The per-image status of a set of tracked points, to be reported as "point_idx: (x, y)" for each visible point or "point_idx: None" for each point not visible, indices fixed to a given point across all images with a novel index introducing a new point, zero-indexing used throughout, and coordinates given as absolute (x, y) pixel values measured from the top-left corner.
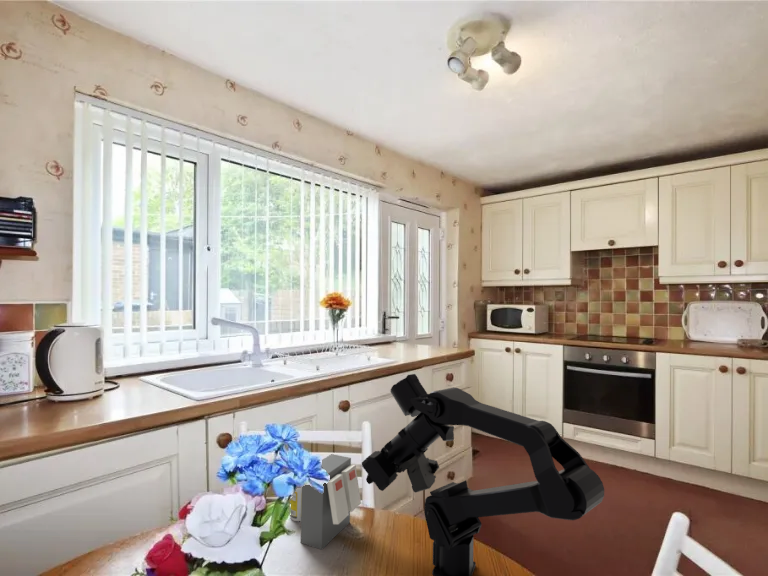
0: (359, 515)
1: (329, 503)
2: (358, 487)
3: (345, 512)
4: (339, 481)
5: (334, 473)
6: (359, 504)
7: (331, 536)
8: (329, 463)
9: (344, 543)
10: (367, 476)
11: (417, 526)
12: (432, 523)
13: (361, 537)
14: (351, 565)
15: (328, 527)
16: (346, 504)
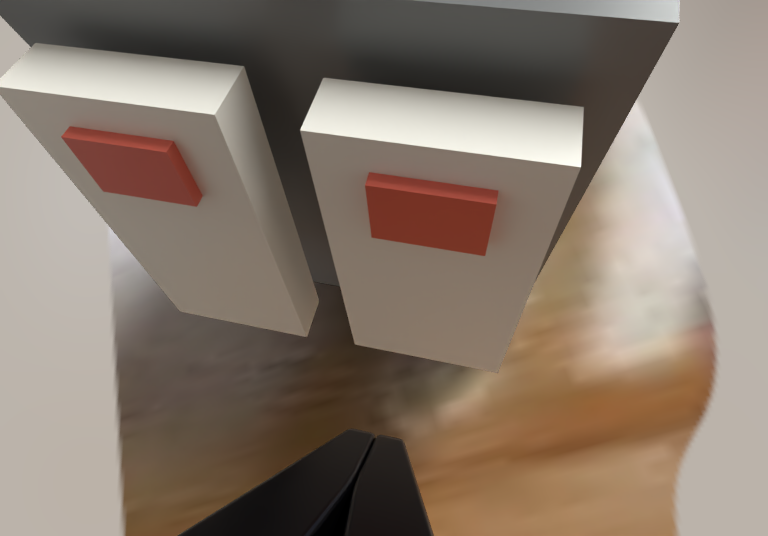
0: (612, 348)
1: None
2: (511, 318)
3: (267, 315)
4: (125, 148)
5: (214, 30)
6: (473, 366)
7: (326, 278)
8: None
9: (316, 356)
10: (302, 460)
11: None
12: None
13: (390, 429)
14: (148, 449)
15: None
16: (282, 299)
